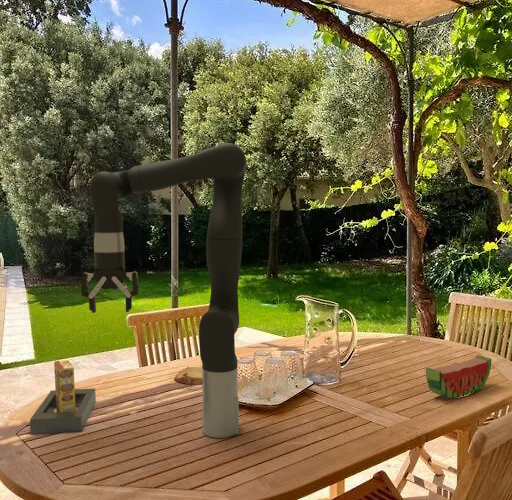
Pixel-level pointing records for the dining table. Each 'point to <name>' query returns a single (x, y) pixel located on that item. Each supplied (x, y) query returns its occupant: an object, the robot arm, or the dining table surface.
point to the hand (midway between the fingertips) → (111, 311)
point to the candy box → (64, 386)
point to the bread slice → (190, 376)
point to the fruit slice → (459, 377)
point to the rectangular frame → (63, 414)
